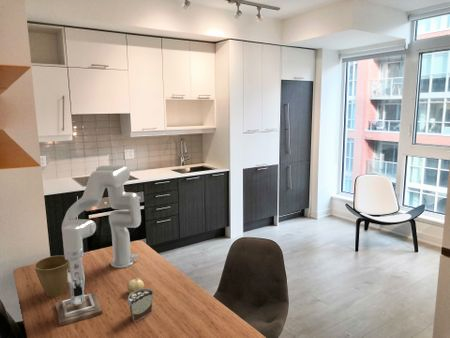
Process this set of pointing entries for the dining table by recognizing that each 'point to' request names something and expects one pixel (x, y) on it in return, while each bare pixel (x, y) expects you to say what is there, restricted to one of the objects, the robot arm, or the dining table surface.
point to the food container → (140, 303)
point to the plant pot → (52, 274)
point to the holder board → (78, 309)
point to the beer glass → (77, 299)
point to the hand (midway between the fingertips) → (77, 291)
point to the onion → (135, 285)
